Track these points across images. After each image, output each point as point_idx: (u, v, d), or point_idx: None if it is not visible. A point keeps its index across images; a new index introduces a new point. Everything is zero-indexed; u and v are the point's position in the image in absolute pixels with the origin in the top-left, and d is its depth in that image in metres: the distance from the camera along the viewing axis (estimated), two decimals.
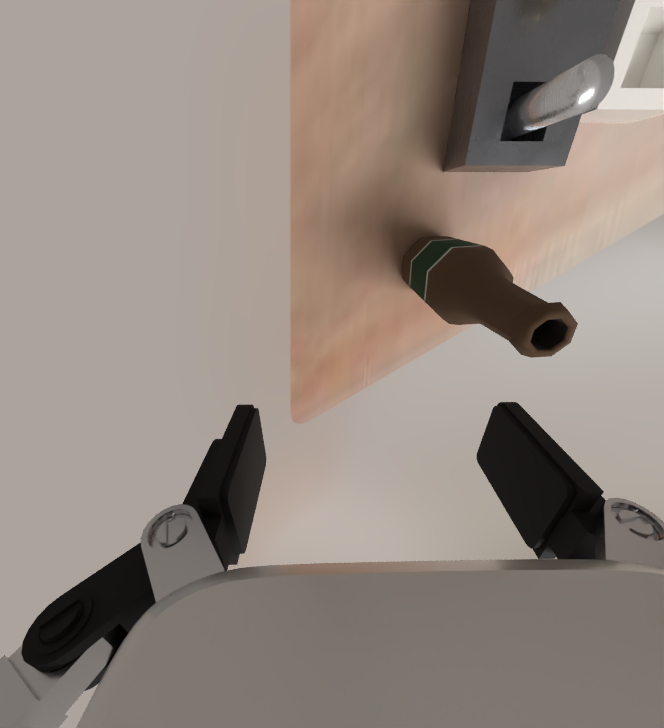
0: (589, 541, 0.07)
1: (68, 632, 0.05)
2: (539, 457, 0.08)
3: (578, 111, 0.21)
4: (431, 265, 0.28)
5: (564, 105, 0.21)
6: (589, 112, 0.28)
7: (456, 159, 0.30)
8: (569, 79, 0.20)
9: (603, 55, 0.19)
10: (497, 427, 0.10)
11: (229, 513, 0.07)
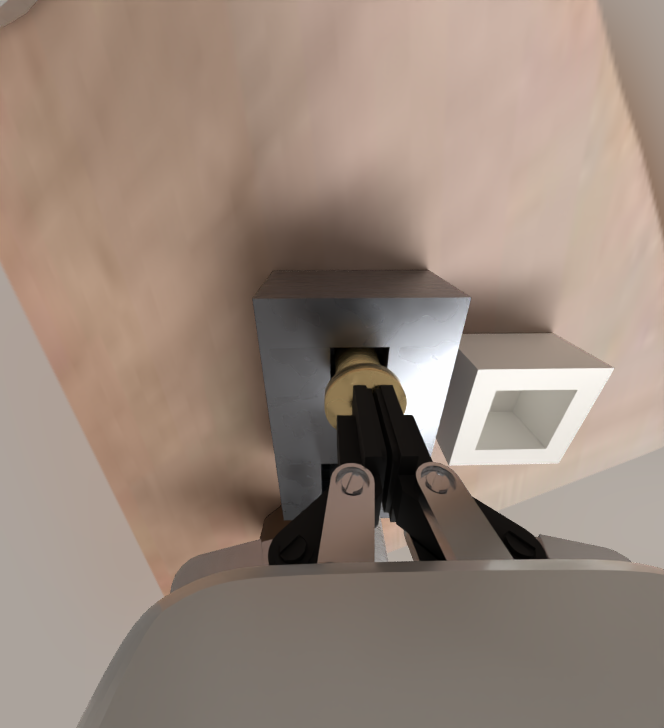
0: (406, 499, 0.08)
1: (304, 557, 0.06)
2: None
3: None
4: None
5: None
6: None
7: None
8: None
9: None
10: None
11: (383, 473, 0.09)
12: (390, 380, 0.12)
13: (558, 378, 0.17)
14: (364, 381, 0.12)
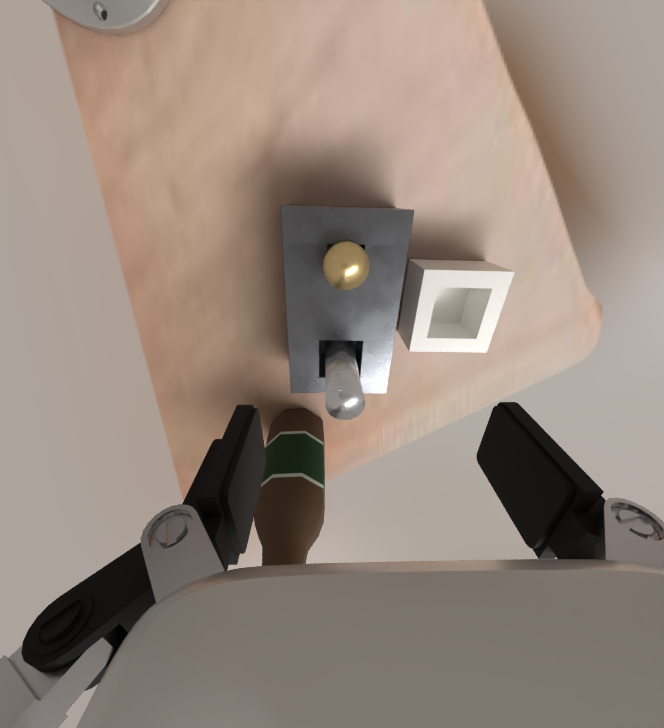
0: (589, 541, 0.07)
1: (68, 632, 0.05)
2: (539, 457, 0.08)
3: (341, 418, 0.22)
4: None
5: None
6: None
7: None
8: (326, 400, 0.21)
9: (348, 389, 0.21)
10: (497, 427, 0.10)
11: (229, 513, 0.07)
12: (359, 248, 0.21)
13: (478, 278, 0.25)
14: (345, 248, 0.21)
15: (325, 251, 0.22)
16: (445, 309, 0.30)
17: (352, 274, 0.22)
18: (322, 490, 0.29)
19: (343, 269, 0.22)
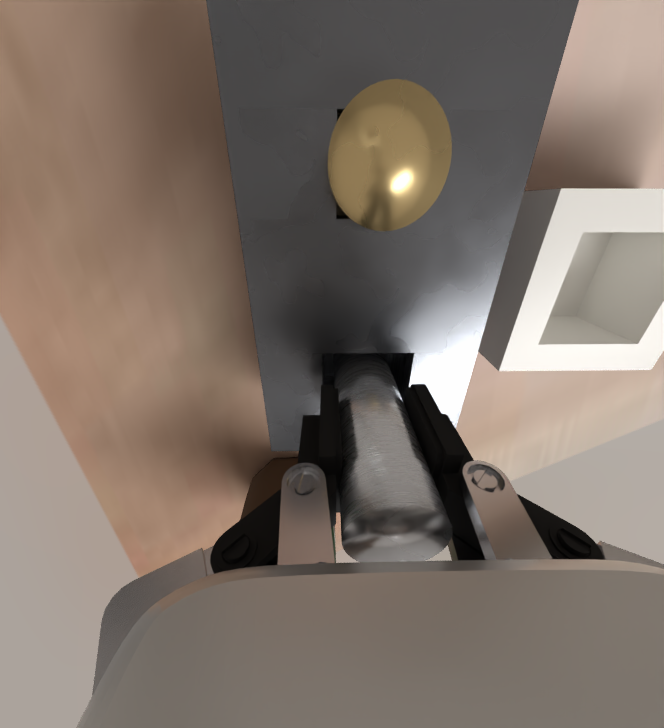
0: (451, 497, 0.08)
1: (245, 556, 0.06)
2: None
3: None
4: None
5: None
6: None
7: None
8: (342, 525, 0.08)
9: (410, 506, 0.07)
10: (408, 406, 0.11)
11: (340, 472, 0.09)
12: (429, 100, 0.08)
13: None
14: (389, 101, 0.08)
15: None
16: None
17: (404, 185, 0.08)
18: None
19: (382, 172, 0.08)
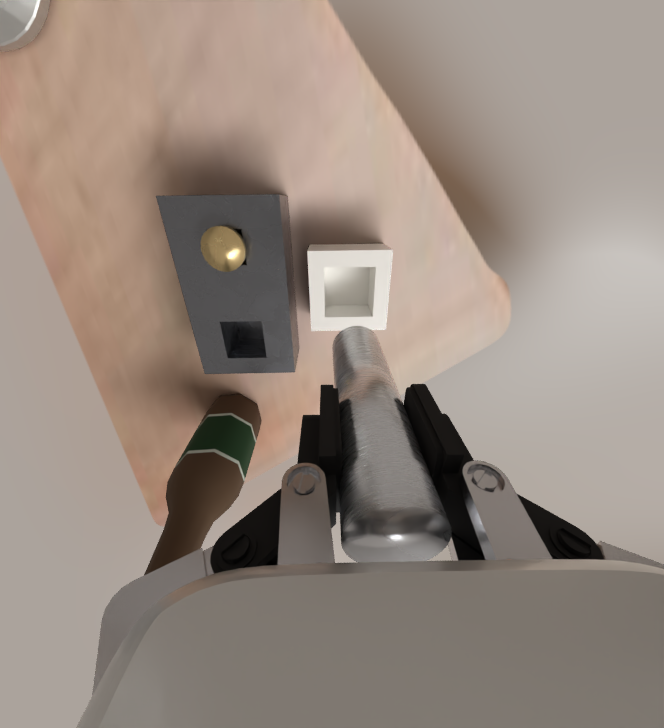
0: (451, 497, 0.08)
1: (246, 556, 0.06)
2: None
3: None
4: (179, 460, 0.32)
5: None
6: None
7: None
8: (342, 527, 0.08)
9: (410, 508, 0.07)
10: (408, 406, 0.11)
11: (340, 472, 0.09)
12: (230, 231, 0.23)
13: (360, 258, 0.26)
14: (217, 232, 0.23)
15: None
16: (351, 291, 0.32)
17: (229, 256, 0.24)
18: (236, 465, 0.31)
19: (220, 252, 0.24)
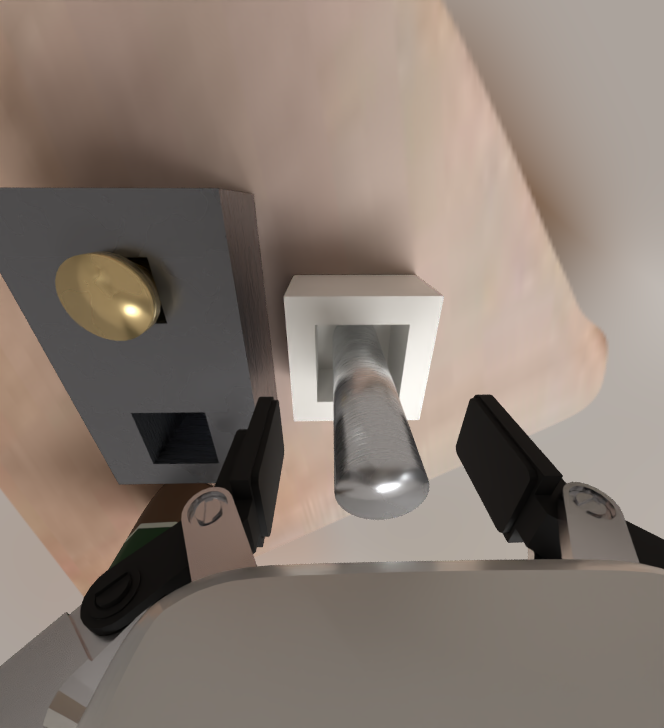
0: (549, 522, 0.08)
1: (121, 600, 0.06)
2: (507, 445, 0.09)
3: (371, 517, 0.10)
4: None
5: None
6: None
7: None
8: (335, 479, 0.09)
9: (392, 460, 0.08)
10: (473, 418, 0.11)
11: (259, 496, 0.08)
12: (115, 265, 0.11)
13: (382, 309, 0.14)
14: (87, 266, 0.11)
15: None
16: None
17: (122, 313, 0.12)
18: None
19: (101, 305, 0.12)
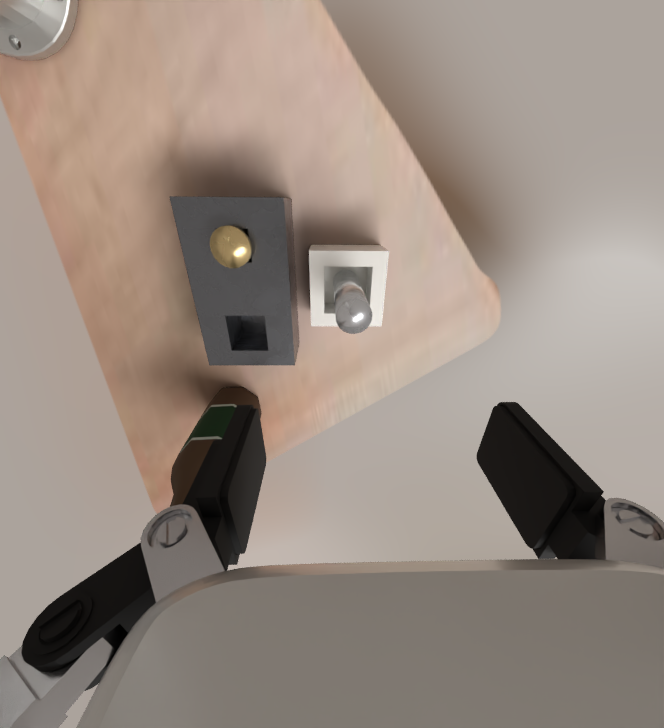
0: (589, 541, 0.07)
1: (68, 632, 0.05)
2: (539, 457, 0.08)
3: (350, 333, 0.24)
4: (183, 446, 0.33)
5: None
6: None
7: None
8: (335, 312, 0.23)
9: (357, 299, 0.22)
10: (497, 427, 0.10)
11: (229, 513, 0.07)
12: (238, 230, 0.25)
13: (358, 258, 0.28)
14: (226, 231, 0.25)
15: None
16: None
17: (236, 254, 0.26)
18: None
19: (228, 250, 0.26)
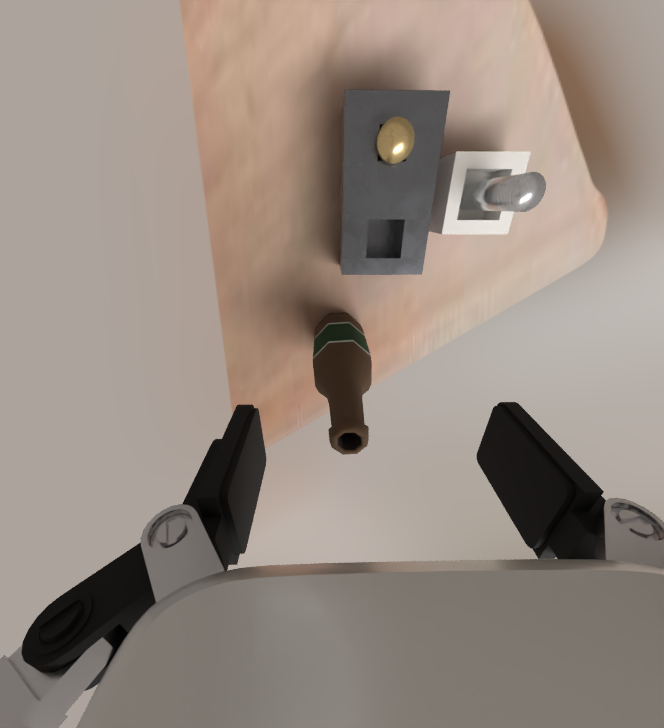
0: (589, 541, 0.07)
1: (68, 632, 0.05)
2: (539, 457, 0.08)
3: (519, 211, 0.26)
4: (316, 353, 0.35)
5: (508, 205, 0.26)
6: None
7: None
8: (511, 189, 0.25)
9: (535, 173, 0.24)
10: (497, 427, 0.10)
11: (229, 513, 0.07)
12: (407, 122, 0.27)
13: (500, 159, 0.30)
14: (396, 122, 0.27)
15: (377, 131, 0.28)
16: None
17: (400, 147, 0.28)
18: (369, 356, 0.35)
19: (393, 143, 0.28)
